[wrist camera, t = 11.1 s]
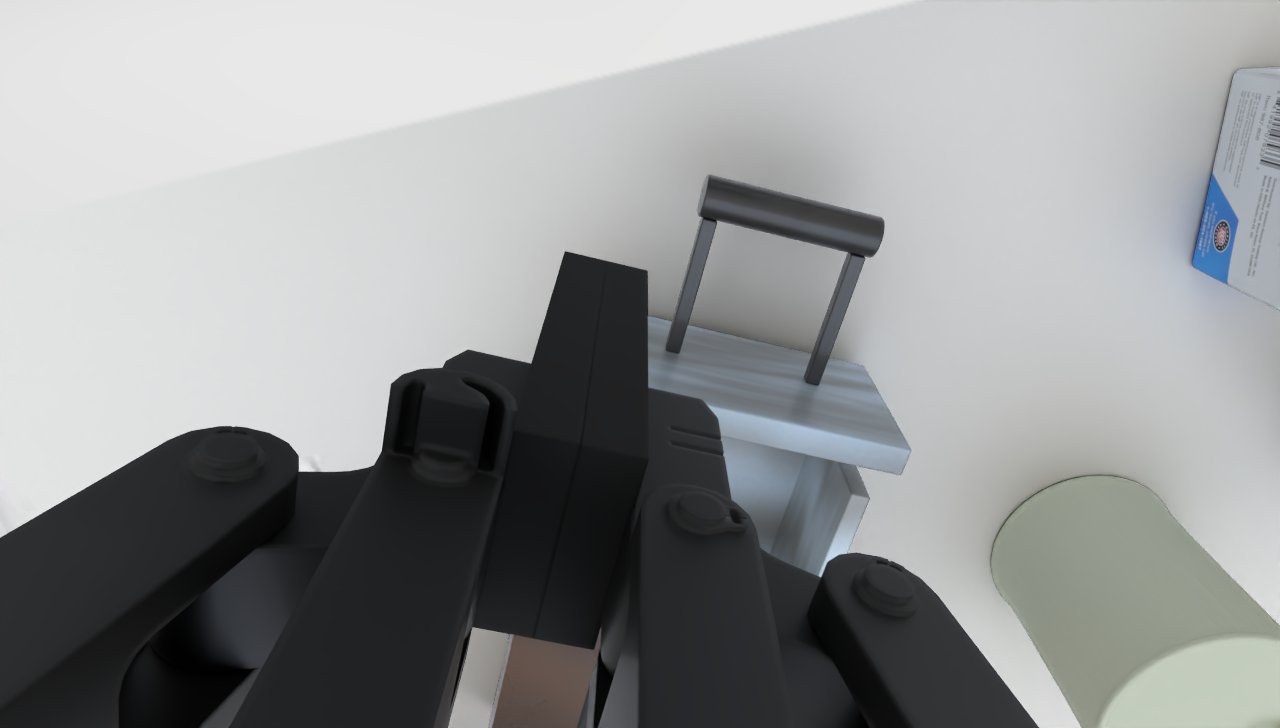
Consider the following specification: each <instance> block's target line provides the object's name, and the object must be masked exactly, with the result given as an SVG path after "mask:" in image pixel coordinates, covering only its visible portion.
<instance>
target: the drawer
mask: <svg viewBox="0 0 1280 728" xmlns="http://www.w3.org/2000/svg"><path fill="white" fill-rule="evenodd" d="M697 213H698V216H700V217H701V219H700V223H699V227H698V230H697V234H696V237H695V241H694V245H693V248H692V252H691V255H690V259H689V263H688V266H687V270H686V273H685V277H684V281H683V284H682V288H681V291H680V295H679V298H678V302H677V306H676V309H675V313H674V316H673V320H672V321H668V320H664V319H660V318H655V317H651V316H648V387H649V388H654V389H658V390H663V391H667V392H672V393H676V394H681V395H685V396H690V397H694V398H699V399H702V400H703V401H704V402H705V403H706V405H707V406H708V407H709V408H710V409H711V410H712V412H713V413H714V414H715V415H716V416H717V418H718V420H719V426H720V432H721V441H722V444H723V450H724V454H723V456H725V462H726V468H727V475H728V481H729V487H730V493H731V499H732V501H734V502H736V503H737V504H738V505H739V506H740V507H741V508H742V509H743V510H744V511H745V512H747V513H748V514H749V515H750V517H751V519H752V521H753V523H754V525H755V527H756V529H757V534H758V539H759V544H760V548H762V549H763V550H764V551H766V552H767V553H769V554H770V555H772V556H774V557H776V558H778V559H780V560H782V561H784V562H786V563H788V564H790V565H793V566H795V567H798V568H800V569H802V570H805V571H807V572H810V573H812V574H814V575H817V576H819V577H821V576H822V574H823V571H824V569H825V566H826V564H827V562H828V561H830V560H831V559H833V558H834V557H836V556H837V555H840V554H847V552H848V550H849V547H850V545H851V542H852V540H853V538H854V535H855V533H856V530H857V528H858V526H859V523H860V521H861V519H862V516H863V514H864V511H865V509H866V507H867V504H868V502H869V499H870V497H869V495H868V493H867V490H866V488H865V486H864V483H863V481H862V479H861V476H860V474H859V472H858V470H857V467H856V466H859V467H864V468H868V469H873V470H878V471H882V472H887V473H891V474H896V475H901V474H902V471H903V469H904V467H905V465H906V462H907V460H908V458H909V455H910V453H911V448H910V446H909V445H908V443H907V441H906V439H905V438H904V436H903V434H902V432H901V431H900V429H899V427H898V425H897V424H896V422H895V420H894V418H893V416H892V415H891V413H890V411H889V409H888V408H887V406H886V404H885V402H884V401H883V399H882V397H881V395H880V394H879V392H878V390H877V388H876V386H875V385H874V383H873V381H872V379H871V378H870V376H869V374H868V372H867V371H866V369H865V367H864V366H863V365H859V364H854V363H850V362H846V361H841V360H837V359H833V358H829V357H830V354H831V351H832V349H833V346H834V343H835V340H836V338H837V335H838V332H839V329H840V327H841V324H842V321H843V318H844V316H845V313H846V310H847V308H848V305H849V302H850V299H851V297H852V294H853V291H854V288H855V286H856V283H857V280H858V278H859V275H860V272H861V269H862V267H863V264H864V261H865V257H869V258H870V257H873V256H874V255H875V254H876V252H877V250H878V249H879V247H880V244H881V241H882V238H883V234H884V220H883V218H881V217H878V216H874V215H870V214H866V213H862V212H858V211H854V210H850V209H846V208H842V207H838V206H834V205H830V204H825V203H821V202H817V201H813V200H809V199H805V198H801V197H797V196H793V195H789V194H785V193H781V192H777V191H773V190H769V189H765V188H761V187H757V186H753V185H749V184H745V183H741V182H737V181H733V180H729V179H725V178H721V177H717V176H713V175H708V176H707V177H706V179H705V181H704V184H703V187H702V191H701V195H700V199H699V204H698V211H697ZM716 220H717V221H721V222H725V223H729V224H733V225H737V226H741V227H745V228H749V229H754V230H758V231H762V232H766V233H770V234H774V235H778V236H782V237H786V238H791V239H795V240H799V241H803V242H807V243H811V244H815V245H819V246H823V247H828V248H832V249H836V250H840V251H844V252H848V254H847V256H846V259H845V262H844V265H843V268H842V270H841V273H840V276H839V279H838V282H837V285H836V287H835V290H834V293H833V296H832V299H831V301H830V304H829V307H828V310H827V313H826V315H825V318H824V321H823V324H822V327H821V329H820V332H819V335H818V338H817V341H816V343H815V346H814V349H813V352H812V354H811V353H807V352H802V351H798V350H794V349H789V348H785V347H781V346H777V345H772V344H768V343H764V342H759V341H755V340H751V339H746V338H742V337H738V336H733V335H729V334H725V333H720V332H716V331H712V330H707V329H703V328H699V327H694V326H690V325H688V323H689V319H690V316H691V312H692V309H693V305H694V302H695V298H696V295H697V291H698V288H699V284H700V281H701V277H702V274H703V270H704V267H705V264H706V260H707V257H708V253H709V250H710V246H711V243H712V239H713V236H714V232H715V229H716V225H717V221H716ZM864 256H865V257H864Z"/></svg>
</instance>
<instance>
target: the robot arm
mask: <svg viewBox="0 0 1280 728" xmlns="http://www.w3.org/2000/svg"><path fill="white" fill-rule="evenodd" d="M723 454H724V450H723V444H722V441H721V432H720V426H719V420H718V418H717V416H716V415H715V414H714V413H713V412H712V410H711V409H710V408H709V407H708V406H707V405H706V403H705V402H704V401H703V400H702V399H699V398H694V397H690V396H685V395H681V394H676V393H672V392H667V391H663V390H658V389H654V388H649V387H648V271H646V270H642V269H638V268H634V267H629V266H625V265H621V264H617V263H612V262H608V261H604V260H600V259H596V258H591V257H587V256H583V255H579V254H574V253H570V252H566V251H565V253H564V256H563V260H562V263H561V266H560V270H559V273H558V276H557V280H556V283H555V286H554V290H553V293H552V297H551V300H550V303H549V307H548V310H547V313H546V317H545V320H544V323H543V327H542V330H541V333H540V337H539V340H538V344H537V347H536V350H535V354H534V357H533V360H532V364H530V363H525V362H521V361H517V360H512V359H508V358H503V357H499V356H494V355H490V354H485V353H481V352H476V351H472V350H466V351H464V352H462V353H460V354H459V355H457V356H455V357H453V358H451V359H449V360H447V361H446V362H445V364H444V366H443V368H434V369H420V370H416V371H413V372H410V373H406V374H403V375H401V376H400V377H399V378H398V379H396V380H395V381H394V382H393V383H392V384H391V389H390V396H389V403H388V411H387V418H386V425H385V432H384V439H383V447H382V452H381V454H380V456H379V458H378V459H377V461H376V463H375V465H374V466H372V467H369V468H364V469H359V470H354V471H344V472H298V471H299V456H298V454H297V453H296V452H295V451H294V449H293V448H292V447H291V446H290V444H289V443H287V442H285V441H283V440H282V439H280V438H278V437H276V436H274V435H272V434H270V433H266V432H262V431H258V430H253V429H250V428H245V427H236V426H235V427H232V426H219V427H213V428H207V429H201V430H194V431H190V432H188V433H185V434H183V435H180V436H178V437H175V438H173V439H170V440H168V441H166V442H164V443H163V444H161V445H159V446H158V447H156V448H154V449H152V450H151V451H149V452H147V453H146V454H144V455H142V456H140V457H139V458H137V459H135V460H133V461H132V462H130V463H128V464H127V465H125V466H123V467H121V468H120V469H118V470H116V471H115V472H113V473H111V474H109V475H108V476H106V477H104V478H102V479H101V480H99V481H97V482H96V483H94V484H92V485H90V486H89V487H87V488H85V489H84V490H82V491H80V492H78V493H77V494H75V495H73V496H71V497H70V498H68V499H66V500H65V501H63V502H61V503H59V504H58V505H56V506H54V507H53V508H51V509H49V510H47V511H46V512H44V513H42V514H40V515H39V516H37V517H35V518H34V519H32V520H30V521H28V522H27V523H25V524H23V525H22V526H20V527H18V528H16V529H15V530H13V531H11V532H9V533H8V534H6V535H4V536H3V537H1V538H0V728H448V724H449V720H450V717H451V713H452V709H453V705H454V701H455V697H456V694H457V690H458V686H459V682H460V678H461V675H462V671H463V667H464V663H465V659H466V654H467V650H468V645H469V640H470V635H471V630H472V627H476V628H481V629H486V630H492V631H497V632H502V633H507V634H512V635H518V636H523V637H528V638H533V639H538V640H543V641H549V642H554V643H559V644H564V645H569V646H575V647H580V648H585V649H590V650H594V649H595V645H596V642H597V638H598V635H599V631H600V628H601V642H600V649H599V653H598V656H597V660H596V663H595V667H594V670H593V674H592V677H591V681H590V684H589V687H588V691H587V694H586V698H585V701H584V705H583V708H582V712H581V715H580V718H579V722H578V725H577V728H1039V727H1038V726H1037V725H1036V723H1035V722H1034V721H1033V719H1032V718H1031V717H1030V715H1029V714H1028V713H1027V711H1026V710H1025V709H1024V708H1023V706H1022V705H1021V704H1020V702H1019V701H1018V700H1017V698H1016V697H1015V696H1014V695H1013V693H1012V692H1011V691H1010V689H1009V688H1008V687H1007V685H1006V684H1005V683H1004V681H1003V680H1002V679H1001V678H1000V676H999V675H998V674H997V672H996V671H995V670H994V668H993V667H992V666H991V665H990V663H989V662H988V661H987V659H986V658H985V657H984V655H983V654H982V653H981V651H980V650H979V649H978V648H977V646H976V645H975V644H974V642H973V641H972V640H971V638H970V637H969V636H968V635H967V633H966V632H965V631H964V629H963V628H962V627H961V625H960V624H959V623H958V621H957V620H956V619H955V618H954V616H953V615H952V614H951V612H950V611H949V610H948V608H947V607H946V606H945V605H944V603H943V602H942V601H941V599H940V598H939V597H938V595H937V594H936V593H935V592H934V591H933V590H932V589H931V588H930V587H929V586H928V585H927V584H926V583H925V582H924V581H923V580H922V579H920V578H919V577H917V576H916V575H914V574H912V573H911V572H909V571H908V570H906V569H905V568H904V567H903V566H901V565H899V564H897V563H895V562H893V561H891V562H890V561H888V559H884V558H881V557H878V556H871V555H866V554H861V553H850V554H840V555H837V556H836V557H834V558H833V559H831V560H830V561H828V562H827V564H826V566H825V569H824V571H823V574H822V576H821V577H819V576H817V575H814V574H812V573H810V572H807V571H805V570H802V569H800V568H798V567H795V566H793V565H790V564H788V563H786V562H784V561H782V560H780V559H778V558H776V557H774V556H772V555H770V554H769V553H767V552H766V551H764V550H763V549H762V548H760V544H759V539H758V534H757V529H756V527H755V525H754V523H753V521H752V519H751V517H750V515H749V514H748V513H747V512H745V511H744V510H743V509H742V508H741V507H740V506H739V505H738V504H737V503H736V502H734V501H732V499H731V493H730V487H729V481H728V475H727V468H726V462H725V456H723ZM601 624H602V627H601Z"/></svg>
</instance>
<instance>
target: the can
mask: <svg viewBox="0 0 1280 728" xmlns="http://www.w3.org/2000/svg"><path fill="white" fill-rule="evenodd" d="M991 568H992V575H993V579H994V582H995V585H996V587H997V589H998V591H999V593H1000V594H1001V596H1002V597H1003V598H1004V600H1005V601H1006V602H1007V603H1008V604H1009V605H1010V606H1011V607H1012V609H1013V611H1014V612H1015V614H1016V615H1017V617H1018V619H1019V620H1020V622H1021V623H1022V625H1023V627H1024V628H1025V630H1026V632H1027V633H1028V635H1029V637H1030V639H1031V640H1032V642H1033V644H1034V645H1035V647H1036V649H1037V651H1038V652H1039V654H1040V656H1041V657H1042V659H1043V661H1044V663H1045V664H1046V666H1047V668H1048V669H1049V671H1050V673H1051V675H1052V676H1053V678H1054V680H1055V682H1056V683H1057V685H1058V687H1059V688H1060V690H1061V692H1062V694H1063V695H1064V697H1065V699H1066V701H1067V702H1068V704H1069V706H1070V708H1071V709H1072V711H1073V713H1074V715H1075V717H1076V718H1077V720H1078V722H1079V724H1080V725H1081V727H1082V728H1280V625H1279V624H1278V623H1277V622H1276V621H1275V620H1274V619H1273V618H1272V617H1271V616H1270V615H1269V614H1268V613H1267V612H1266V611H1265V610H1264V609H1263V608H1262V607H1261V606H1260V605H1259V604H1258V603H1257V602H1256V601H1255V600H1254V599H1253V598H1252V597H1251V596H1250V595H1249V594H1248V593H1247V592H1246V591H1245V590H1244V589H1243V588H1242V587H1241V586H1240V585H1239V584H1238V583H1237V582H1236V581H1235V580H1234V579H1233V578H1232V577H1231V576H1230V575H1229V574H1228V573H1227V572H1226V571H1225V570H1224V569H1223V568H1222V567H1221V566H1220V565H1219V564H1218V563H1217V562H1216V561H1215V560H1214V559H1213V558H1212V557H1211V556H1210V555H1209V554H1208V553H1207V552H1206V551H1205V550H1204V549H1203V548H1202V547H1201V546H1200V545H1199V543H1198V542H1197V541H1196V540H1195V539H1194V538H1193V537H1192V536H1191V535H1190V534H1189V533H1188V532H1187V531H1186V530H1185V529H1184V528H1183V527H1182V526H1181V525H1180V523H1179V522H1178V521H1177V520H1176V519H1175V518H1174V517H1173V516H1172V515H1171V514H1170V512H1169V510H1168V508H1167V507H1166V505H1165V504H1164V503H1163V501H1162V500H1161V499H1160V498H1159V497H1158V496H1157V495H1156V494H1154V493H1153V492H1152V491H1151V490H1149V489H1148V488H1146V487H1144V486H1143V485H1141V484H1138V483H1136V482H1134V481H1131V480H1128V479H1124V478H1120V477H1113V476H1086V477H1079V478H1074V479H1070V480H1067V481H1063V482H1060V483H1058V484H1055V485H1053V486H1050V487H1048V488H1046V489H1044V490H1042V491H1041V492H1039V493H1037V494H1035V495H1034V496H1033V497H1031V498H1030V499H1028V500H1027V501H1025V502H1024V503H1023V504H1022V505H1021V506H1020V507H1018V508H1017V509H1016V510H1015V511H1014V512H1013V514H1012V515H1011V516H1010V517H1009V518H1008V519H1007V521H1006V522H1005V524H1004V525H1003V527H1002V528H1001V530H1000V532H999V534H998V536H997V538H996V541H995V543H994V547H993V551H992V558H991Z"/></svg>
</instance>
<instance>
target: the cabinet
mask: <svg viewBox="0 0 1280 728" xmlns="http://www.w3.org/2000/svg"><path fill="white" fill-rule="evenodd" d="M601 627H602V624H601ZM600 642H601V628H600V631H599V635H598V638H597V642H596V645H595V649H594V650H590V649H585V648H580V647H575V646H569V645H564V644H559V643H554V642H549V641H543V640H538V639H533V638H528V637H523V636H518V635H512V634H510V635H509V639H508V643H507V648H506V652H505V656H504V660H503V665H502V669H501V673H500V678H499V682H498V686H497V691H496V695H495V699H494V703H493V708H492V712H491V717H490V722H489V727H488V728H577V725H578V722H579V718H580V715H581V712H582V708H583V705H584V701H585V698H586V694H587V691H588V687H589V684H590V681H591V677H592V674H593V670H594V667H595V663H596V660H597V656H598V653H599V649H600Z"/></svg>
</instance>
